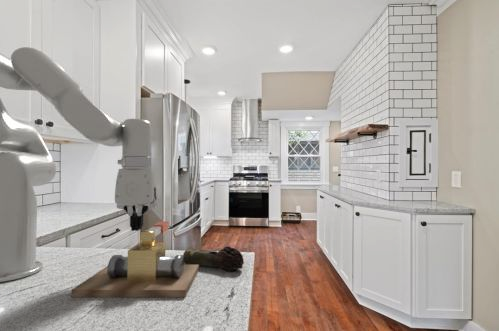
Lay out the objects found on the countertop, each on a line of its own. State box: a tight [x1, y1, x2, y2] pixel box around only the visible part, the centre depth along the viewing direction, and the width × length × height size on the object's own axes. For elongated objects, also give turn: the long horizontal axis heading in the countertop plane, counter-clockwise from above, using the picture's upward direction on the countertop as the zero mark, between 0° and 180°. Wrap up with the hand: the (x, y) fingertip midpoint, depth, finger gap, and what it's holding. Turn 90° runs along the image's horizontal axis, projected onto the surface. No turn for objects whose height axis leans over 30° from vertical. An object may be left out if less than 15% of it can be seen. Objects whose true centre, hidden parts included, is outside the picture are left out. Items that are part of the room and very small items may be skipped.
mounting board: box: [70, 264, 200, 298], centre depth 62 cm, size 24×15×2 cm, turn 90°
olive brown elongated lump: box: [182, 245, 245, 273], centre depth 73 cm, size 18×7×6 cm, turn 68°
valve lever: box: [140, 221, 169, 247], centre depth 67 cm, size 14×3×3 cm, turn 0°
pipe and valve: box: [107, 241, 185, 282], centre depth 62 cm, size 16×7×7 cm, turn 90°
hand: (136, 229), depth 71 cm, fingers closed
